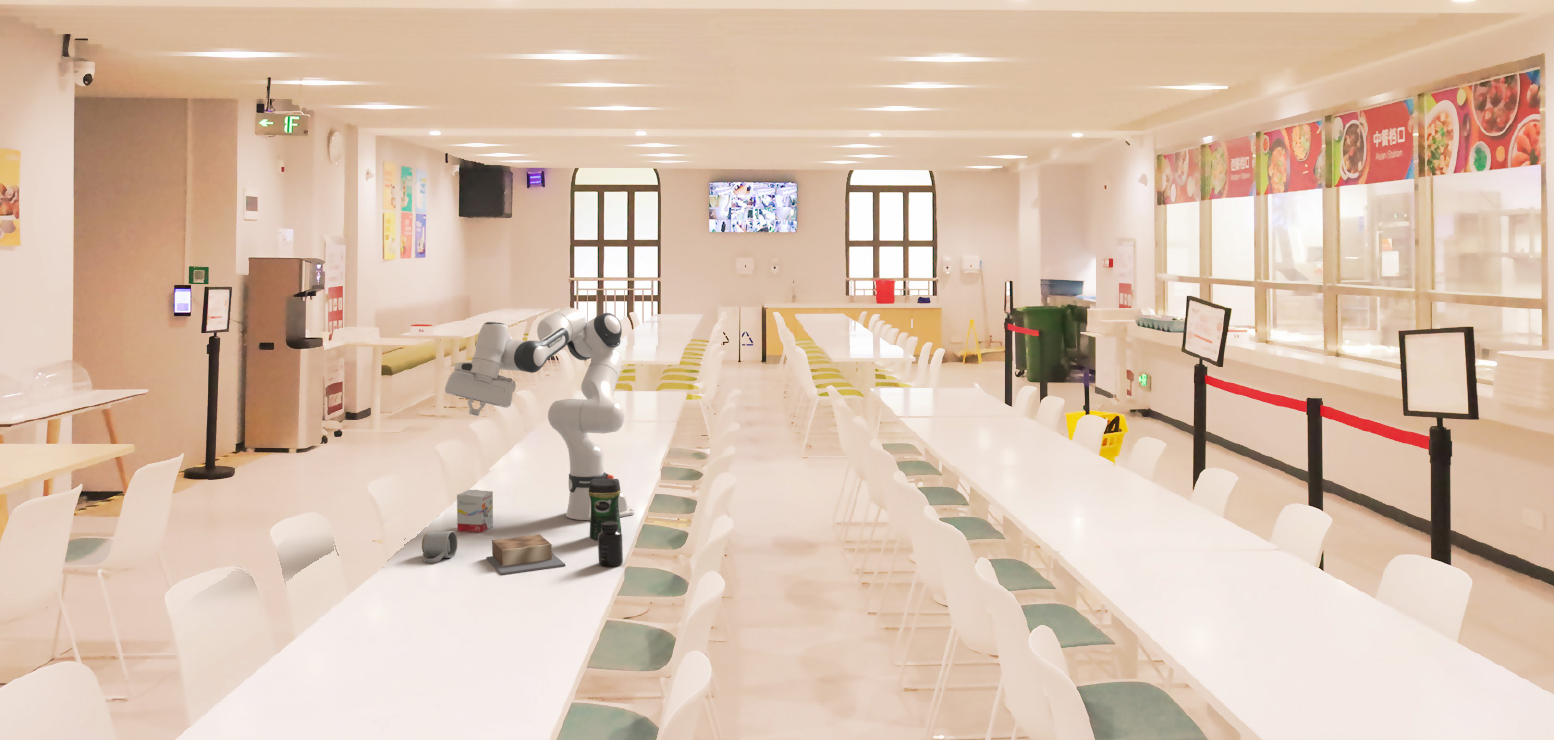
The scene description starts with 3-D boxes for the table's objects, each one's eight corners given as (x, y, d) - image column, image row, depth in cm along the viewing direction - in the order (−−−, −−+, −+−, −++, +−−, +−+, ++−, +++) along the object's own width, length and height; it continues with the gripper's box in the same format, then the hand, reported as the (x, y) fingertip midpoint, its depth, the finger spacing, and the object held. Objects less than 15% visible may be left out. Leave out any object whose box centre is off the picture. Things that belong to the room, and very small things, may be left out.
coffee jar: (623, 534, 338) (622, 476, 336) (618, 541, 331) (617, 481, 328) (592, 534, 339) (591, 475, 337) (587, 541, 331) (586, 481, 329)
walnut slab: (539, 534, 319) (551, 544, 309) (539, 548, 320) (551, 559, 310) (491, 540, 313) (502, 550, 302) (492, 555, 313) (502, 566, 303)
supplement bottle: (610, 559, 312) (609, 518, 311) (627, 563, 308) (627, 522, 307) (593, 565, 306) (592, 523, 305) (611, 569, 303) (610, 527, 301)
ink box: (481, 533, 339) (480, 496, 338) (456, 531, 341) (455, 494, 340) (494, 526, 348) (493, 490, 346) (469, 524, 349) (468, 488, 348)
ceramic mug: (431, 552, 318) (430, 527, 317) (458, 553, 317) (457, 528, 316) (415, 563, 307) (414, 537, 306) (443, 565, 306) (442, 538, 305)
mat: (547, 550, 320) (547, 549, 320) (565, 566, 305) (565, 564, 305) (486, 559, 312) (486, 557, 311) (501, 575, 297) (501, 572, 297)
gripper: (514, 381, 342) (504, 423, 339) (450, 364, 334) (439, 408, 331) (519, 378, 337) (509, 421, 334) (453, 361, 329) (442, 406, 326)
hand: (473, 414), depth 332 cm, fingers closed
